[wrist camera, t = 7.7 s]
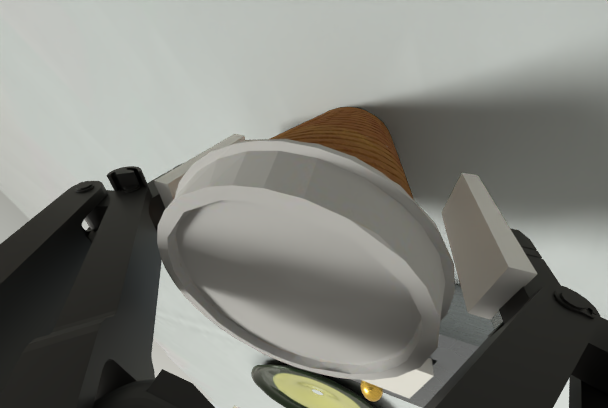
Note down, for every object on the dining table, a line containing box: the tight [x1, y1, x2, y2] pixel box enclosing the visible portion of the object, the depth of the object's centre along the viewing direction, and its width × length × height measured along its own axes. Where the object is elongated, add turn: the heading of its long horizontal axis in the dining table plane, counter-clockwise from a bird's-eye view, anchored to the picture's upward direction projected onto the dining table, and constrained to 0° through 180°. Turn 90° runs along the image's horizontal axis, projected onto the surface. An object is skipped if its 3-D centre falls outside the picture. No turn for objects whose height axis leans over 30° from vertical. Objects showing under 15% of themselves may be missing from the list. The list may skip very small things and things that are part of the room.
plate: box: [251, 365, 374, 408], centre depth 46 cm, size 28×28×2 cm
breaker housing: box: [351, 284, 494, 408], centre depth 22 cm, size 14×12×7 cm
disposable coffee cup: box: [157, 107, 455, 380], centre depth 12 cm, size 10×10×12 cm
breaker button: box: [362, 358, 434, 398], centre depth 22 cm, size 6×6×6 cm
